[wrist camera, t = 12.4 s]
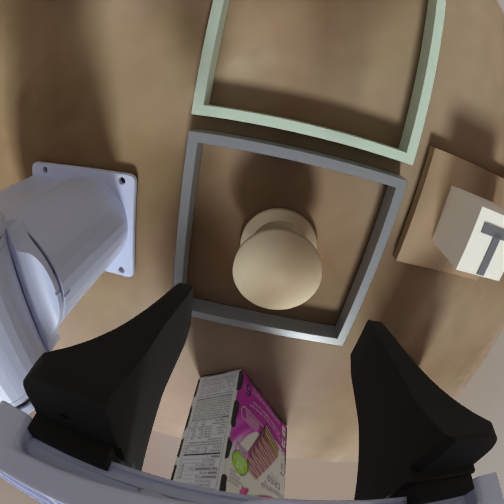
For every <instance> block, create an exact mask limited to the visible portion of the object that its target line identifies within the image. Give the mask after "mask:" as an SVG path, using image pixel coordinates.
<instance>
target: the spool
mask: <svg viewBox="0 0 504 504" xmlns="http://www.w3.org/2000/svg"><path fill="white" fill-rule="evenodd" d="M233 278H234V281H235V284H236V286H237V288H238V290H239V291H240V293H241V294H242V295H243V296H244V297H245V298H246V299H247V300H249V301H250V302H252V303H253V304H255V305H257V306H260V307H263V308H267V309H273V310H283V309H290V308H293V307H296V306H298V305H300V304H302V303H304V302H305V301H307V300H308V299H309V298H310V297H311V296H312V295H313V294H314V293H315V292H316V290H317V289H318V287H319V284H320V282H321V278H322V266H321V261H320V257H319V254H318V252H317V240H316V235H315V231H314V229H313V227H312V225H311V224H310V222H309V221H308V220H307V219H306V218H305V217H304V216H302V215H301V214H299V213H298V212H296V211H293V210H290V209H286V208H271V209H267V210H264V211H261V212H259V213H258V214H256V215H255V216H253V217H252V218H251V219H250V220H249V222H248V223H247V224H246V226H245V228H244V230H243V233H242V237H241V243H240V248H239V249H238V251H237V254H236V256H235V260H234V264H233Z"/></svg>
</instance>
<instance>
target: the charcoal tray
mask: <svg viewBox="0 0 504 504" xmlns="http://www.w3.org/2000/svg"><path fill="white" fill-rule="evenodd" d="M203 143H204V144H210V145H216V146H222V147H228V148H233V149H239V150H244V151H250V152H255V153H260V154H265V155H270V156H274V157H279V158H284V159H288V160H293V161H297V162H302V163H306V164H310V165H314V166H319V167H323V168H327V169H331V170H335V171H339V172H342V173H346V174H350V175H354V176H357V177H361V178H365V179H368V180H372V181H375V182H379V183H382V184H386V185H388V186H387V189H386V192H385V196H384V199H383V202H382V205H381V208H380V211H379V214H378V217H377V220H376V223H375V226H374V229H373V231H372V234H371V237H370V240H369V243H368V246H367V248H366V251H365V254H364V256H363V259H362V262H361V264H360V267H359V270H358V272H357V275H356V277H355V280H354V282H353V285H352V288H351V290H350V292H349V295H348V297H347V300H346V302H345V305H344V307H343V309H342V312H341V314H340V317H339V319H338V321H337V323H336V326H332V325H326V324H320V323H315V322H309V321H304V320H298V319H293V318H287V317H282V316H277V315H272V314H267V313H262V312H257V311H252V310H247V309H242V308H237V307H233V306H228V305H223V304H219V303H214V302H210V301H205V300H201V299H196V298H193V304H192V314H191V317H195V318H199V319H204V320H208V321H212V322H217V323H222V324H226V325H231V326H236V327H240V328H245V329H250V330H255V331H260V332H265V333H271V334H276V335H281V336H287V337H292V338H298V339H304V340H310V341H316V342H322V343H328V344H335V345H341V346H342V345H343V343H344V341H345V339H346V336H347V334H348V332H349V330H350V328H351V326H352V324H353V322H354V319H355V317H356V315H357V313H358V311H359V308H360V306H361V304H362V302H363V299H364V297H365V295H366V292H367V290H368V288H369V285H370V283H371V281H372V278H373V276H374V273H375V271H376V268H377V266H378V263H379V261H380V258H381V256H382V253H383V251H384V248H385V246H386V243H387V240H388V238H389V235H390V232H391V229H392V227H393V224H394V221H395V218H396V215H397V212H398V210H399V207H400V204H401V201H402V198H403V195H404V192H405V188H406V185H407V182H408V181H407V180H406V179H404V178H403V177H402V176H401V175H398V174H395V173H392V172H389V171H386V170H382V169H379V168H376V167H372V166H369V165H365V164H362V163H358V162H355V161H351V160H347V159H344V158H340V157H336V156H332V155H328V154H324V153H320V152H316V151H312V150H308V149H304V148H299V147H295V146H290V145H286V144H281V143H276V142H272V141H267V140H262V139H257V138H251V137H246V136H241V135H235V134H229V133H223V132H217V131H211V130H204V129H197V128H195V129H193V130H190V131H189V134H188V141H187V148H186V156H185V164H184V172H183V180H182V189H181V199H180V208H179V219H178V230H177V241H176V254H175V268H174V284H173V287H174V286H175V285H176V284H178V283H184V284H187V273H188V262H189V252H190V243H191V233H192V224H193V215H194V207H195V199H196V191H197V183H198V176H199V168H200V161H201V154H202V147H203Z"/></svg>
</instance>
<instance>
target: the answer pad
mask: <svg viewBox="0 0 504 504" xmlns="http://www.w3.org/2000/svg"><path fill="white" fill-rule="evenodd" d="M451 185H452V186H455V187H457V188H460V189H462V190H465V191H467V192H470V193H472V194H475V195H477V196H479V197H482V198H484V199H486V200H489V201H491V202H493V203H495V204H496V205H497V206H499V207H500V208H502V209H503V210H504V178H502V177H500V176H498V175H496V174H494V173H492V172H490V171H488V170H486V169H483V168H481V167H479V166H477V165H475V164H473V163H470V162H468V161H466V160H464V159H461V158H459V157H457V156H454V155H452V154H450V153H447V152H445V151H442V150H440V149H438V148H435V147H432V146H430V148H429V151H428V155H427V158H426V162H425V165H424V168H423V171H422V175H421V178H420V181H419V184H418V187H417V190H416V193H415V196H414V199H413V202H412V205H411V208H410V211H409V214H408V217H407V219H406V222H405V225H404V228H403V230H402V233H401V236H400V238H399V241H398V244H397V246H396V249H395V251H394V254H393V256H394V258H395V260H396V261H400V262H404V263H408V264H413V265H417V266H421V267H425V268H429V269H433V270H438V271H442V272H446V273H450V274H454V275H458V276H462V277H466V278H470V279H474V280H478V281H479V279H480V277H481V276H478V275H474V274H471V273H467V272H463V271H459V270H456V269H455V268H454V267H453V265H452V264H451V263H450V262H449V260H448V259H447V258H446V257H445V256H444V254H443V253H442V252H441V251H440V250H439V248H438V247H437V246H436V245H435V244H434V242H433V241H432V237H433V235H434V232H435V230H436V227H437V224H438V222H439V219H440V217H441V214H442V211H443V208H444V206H445V203H446V200H447V197H448V194H449V191H450V188H451Z"/></svg>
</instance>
